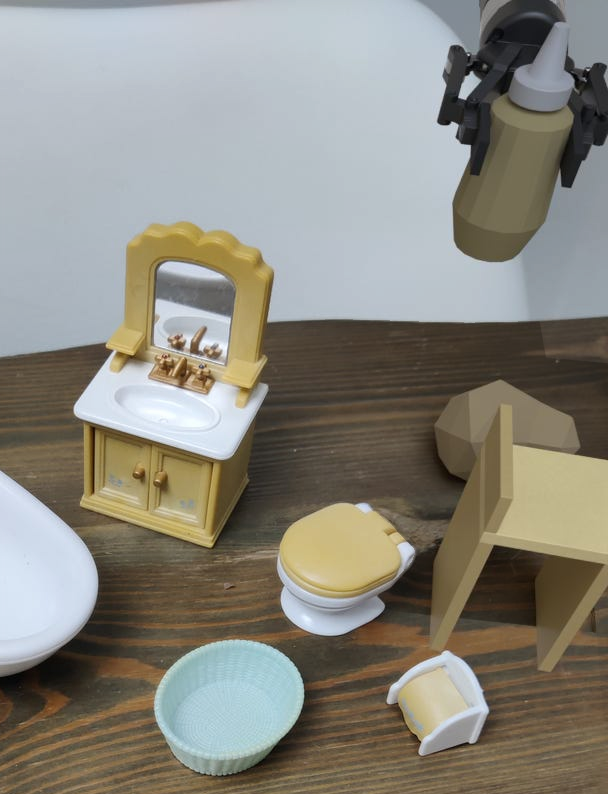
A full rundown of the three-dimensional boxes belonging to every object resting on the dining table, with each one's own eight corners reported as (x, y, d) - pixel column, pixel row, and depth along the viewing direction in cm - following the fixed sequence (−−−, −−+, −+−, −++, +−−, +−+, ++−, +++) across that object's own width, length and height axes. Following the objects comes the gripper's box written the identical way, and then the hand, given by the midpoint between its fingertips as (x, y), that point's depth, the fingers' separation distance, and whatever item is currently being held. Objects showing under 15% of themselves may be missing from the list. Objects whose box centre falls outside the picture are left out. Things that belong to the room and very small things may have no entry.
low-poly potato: (397, 475, 104) (475, 502, 95) (416, 370, 100) (500, 387, 91) (500, 473, 111) (583, 498, 101) (522, 375, 107) (611, 390, 97)
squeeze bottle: (442, 267, 86) (512, 44, 71) (438, 216, 90) (503, -2, 76) (536, 276, 85) (626, 54, 71) (527, 225, 90) (609, 7, 75)
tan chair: (547, 582, 96) (637, 425, 80) (550, 672, 89) (650, 521, 73) (433, 561, 97) (500, 403, 81) (429, 649, 90) (500, 496, 74)
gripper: (613, 95, 92) (633, 227, 79) (405, 69, 94) (390, 193, 81) (649, 6, 86) (677, 132, 73) (426, -19, 88) (413, 99, 75)
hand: (526, 164), depth 77 cm, fingers closed on squeeze bottle, 6 cm apart
